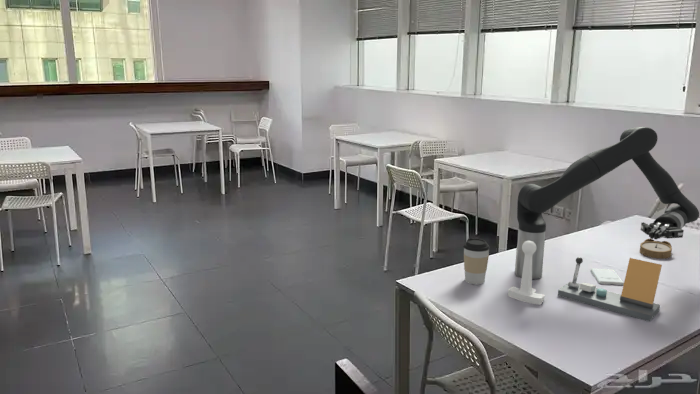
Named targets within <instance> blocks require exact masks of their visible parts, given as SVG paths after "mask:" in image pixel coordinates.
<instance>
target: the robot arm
mask: <svg viewBox="0 0 700 394" xmlns="http://www.w3.org/2000/svg"><path fill="white" fill-rule="evenodd" d="M657 142H658V133H657V132H656V131H655V130H654V129H653V128H651V127H647V126H635V127H632V128H631V127H629V128H627V129H626V130H624V131H622V133H621V134H620V136H619V141H618V142H616V143H613V144H612V145H610V146H605V147H604V148H600V149H598V150H596V151H593V152H590V153H588V154H586V155H584V156H582V157H580V158H579V159H577V160H575V161H574V162H573V163H571V164H570V165H569V166H568V167H567V169H566V170H565V171H564V172H563V174H562V175H561V176H560V177H559V178H558V179H556V180H554V181H552V182H550V183H548V184H546V185H544V186H540V185H537V184H535V183H528V184H525V185H524V186H522V187H521V188H520V190H519V192H518V195H517V196H518V197H517V205H516V206H517V207H516V208H517V209H516V210H517V211H516V212H517V213H516V218H517V223H518V229H517V230H518V231H517V244H516V245H517V246H516V250H515V264H514V273H515V277H518V278H519V277H520V278H522V272H523V265H524V257H525V254H524V252H523V250H522V245H523V243H524V242H525V241H533V242H534V243H535V244H536V247H537V248H536V251H535V253H534V254H533V256H532V280H537V279H541V278H542V277H543V268H544V267H543V265H544V257H545V256H544V254H545V242H546V230H547V229H546V228H547V224H546V221H545V219H544V217H543V213H546V212H547V211H549V210H550V209H552V208H553V207H555V206H556V205H557V204H559V203H560V202H562V201H564V199H566V198H567V197H569V196H570V195H572V194H575V192H578V191H580V190H581V189H582V188H584V187H586V186H588V185H590V184H592V183H594V182H596V181H598V180H599V179H601V178H602V177H604V176H605V175H607V174H609V173H610V172H612V171H614V170H615V169H617V168H618V167H620V166H621V165H623V164H625V163H627V162H628V161H630V160H632V161H633V162H634V164H635V165H636V166H637V167H638V169H639V170H640V171H641V173H642V174H643V175H644V176H645V178H646V180H647V181H648V183H649V184H650V187H652V188H653V191H654V192H655V193H656V195H657V197H658V200H659V201H660V202H661V203H662V204H665V205H671V204H674V206H671V207H669V208H667V209H665V210H664V213H662V214H661V215H660V216H658V217H657V218H656V219H655V220H654V221H653V222H651V223H649V224H648V223H646V222H641V223H640V231H641V232H643V233H644V234H645V235H647V236H648V237H649V239H653V240H655V241H658V239H662V238H664V239H682V238H683V237H684V231H685V230H684V229H683V228H684V227H685V226H686V224H691V223H693V222H696V221H697V220H698V219H699V217H700V210H699V208H698V207H697V206H696V205H695V204H694V203H693V202H692V200H690V199H689V198H688V197H686V196H685V194H684V193H682V192H681V190H680V188H679V186H678V185H677V183H676V182H675V180H674V178H673V177H672V176H671V174H670V173H669V172H668V171H667V170H666V169H665V168H664V167H663V166H662V165H660V163H658V161H656V159H655V158H654V157H653V156H652V154H651V153H650V151H652V150H653V149H654V148H655V146H656V145H657Z"/></svg>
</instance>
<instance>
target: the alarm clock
mask: <svg viewBox="0 0 700 394" xmlns="http://www.w3.org/2000/svg"><path fill="white" fill-rule="evenodd" d="M639 244H640V245H639V254H641V255H642V254H643V256H644V255H645V257H647V258H653V259H659V258H660V259H669V258H671V257H672V251H673V248H672V244H671V242H669V241H667V240H663V241H660V240H655V239H654V238H653V239H651V238H647V239H645V240H644V241H643V242H640V243H639Z"/></svg>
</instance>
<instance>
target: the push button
mask: <svg viewBox="0 0 700 394" xmlns="http://www.w3.org/2000/svg"><path fill="white" fill-rule="evenodd" d="M607 291H608V290H607V289H605V288H600V287H599V288H598V289H597V291H596V295H598V296H601V297H605V296H606V294H607Z"/></svg>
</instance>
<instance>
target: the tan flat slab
mask: <svg viewBox="0 0 700 394" xmlns="http://www.w3.org/2000/svg"><path fill="white" fill-rule="evenodd" d="M628 260H629V261H628V264H627V268H626V274H625V277H624V281H623V282H624V285H622V286H623V287H622V291H621V296H620V301H624V302H628V303H632V304H635V305H639V306H643V307H646V308H650V309H653V303H654V301H655V297H656V295H657V288H658V284H659V279H660V275H661V271H662V266H663V264H660V263H655V262H651V261H647V260H641V259H637V258H633V257H629V259H628Z"/></svg>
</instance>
